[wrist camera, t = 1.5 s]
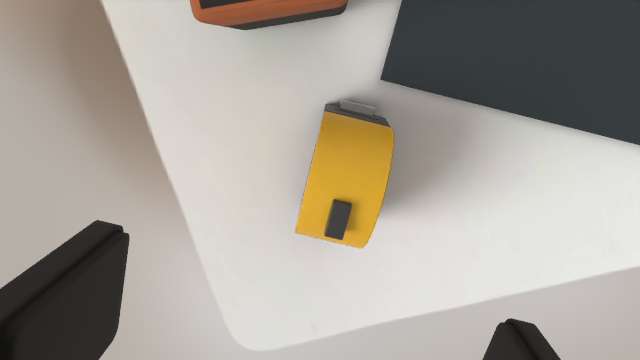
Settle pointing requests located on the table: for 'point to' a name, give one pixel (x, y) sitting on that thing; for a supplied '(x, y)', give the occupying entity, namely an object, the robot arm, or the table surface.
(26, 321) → the robot arm
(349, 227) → the tape measure
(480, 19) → the mat
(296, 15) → the battery
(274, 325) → the table surface
